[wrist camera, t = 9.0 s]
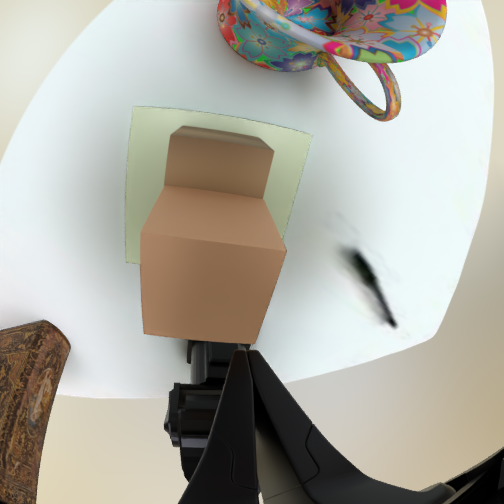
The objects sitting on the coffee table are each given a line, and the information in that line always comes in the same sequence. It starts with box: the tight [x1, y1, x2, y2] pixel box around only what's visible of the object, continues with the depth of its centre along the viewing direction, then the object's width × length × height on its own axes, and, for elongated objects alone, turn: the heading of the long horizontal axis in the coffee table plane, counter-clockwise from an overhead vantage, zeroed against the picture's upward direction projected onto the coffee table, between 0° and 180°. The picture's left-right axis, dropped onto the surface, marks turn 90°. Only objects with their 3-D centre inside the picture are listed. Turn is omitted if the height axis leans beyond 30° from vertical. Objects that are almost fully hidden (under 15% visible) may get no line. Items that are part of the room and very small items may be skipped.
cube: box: [140, 185, 287, 344], centre depth 12 cm, size 5×5×5 cm
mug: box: [217, 0, 447, 121], centre depth 9 cm, size 12×9×11 cm
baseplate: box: [125, 106, 312, 264], centre depth 19 cm, size 12×12×1 cm
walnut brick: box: [164, 125, 275, 199], centre depth 16 cm, size 10×5×5 cm, turn 168°
